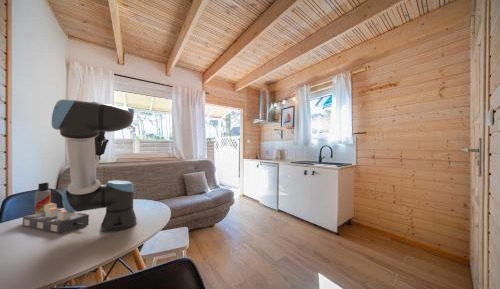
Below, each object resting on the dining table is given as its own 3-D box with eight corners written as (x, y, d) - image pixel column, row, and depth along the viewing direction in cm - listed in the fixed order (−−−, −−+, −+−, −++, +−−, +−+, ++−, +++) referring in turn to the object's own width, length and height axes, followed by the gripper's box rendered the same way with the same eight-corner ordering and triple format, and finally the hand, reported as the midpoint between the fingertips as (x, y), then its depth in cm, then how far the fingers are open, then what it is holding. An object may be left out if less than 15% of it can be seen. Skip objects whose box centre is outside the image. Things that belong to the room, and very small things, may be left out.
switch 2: (58, 215, 91) (59, 208, 91) (50, 217, 88) (51, 209, 89) (53, 214, 92) (53, 207, 92) (45, 216, 89) (45, 209, 90)
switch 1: (70, 218, 88) (71, 210, 88) (63, 220, 85) (63, 212, 85) (65, 217, 89) (65, 209, 89) (57, 219, 86) (57, 211, 86)
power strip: (96, 225, 93) (97, 214, 93) (67, 236, 81) (68, 224, 81) (53, 217, 101) (54, 208, 101) (21, 226, 90) (22, 216, 90)
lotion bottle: (39, 219, 98) (40, 183, 99) (31, 218, 99) (33, 183, 100) (52, 216, 104) (53, 182, 104) (45, 215, 105) (46, 181, 105)
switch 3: (56, 210, 98) (56, 203, 98) (49, 212, 95) (49, 205, 95) (51, 209, 99) (51, 202, 99) (44, 211, 96) (44, 204, 96)
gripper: (103, 129, 117) (102, 164, 117) (80, 126, 105) (79, 166, 104) (112, 129, 115) (111, 165, 115) (90, 126, 103) (88, 167, 102)
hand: (95, 165), depth 109 cm, fingers closed
